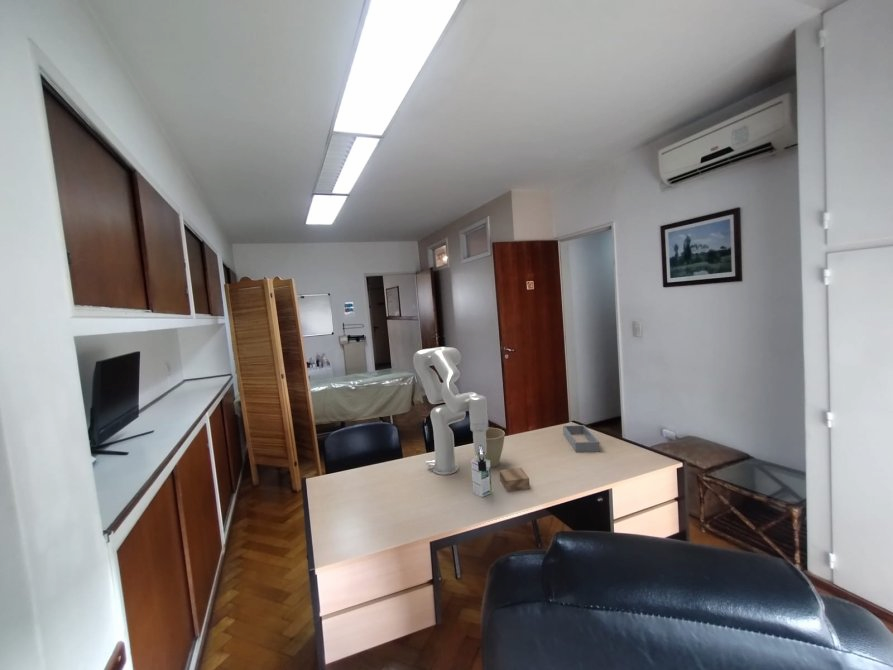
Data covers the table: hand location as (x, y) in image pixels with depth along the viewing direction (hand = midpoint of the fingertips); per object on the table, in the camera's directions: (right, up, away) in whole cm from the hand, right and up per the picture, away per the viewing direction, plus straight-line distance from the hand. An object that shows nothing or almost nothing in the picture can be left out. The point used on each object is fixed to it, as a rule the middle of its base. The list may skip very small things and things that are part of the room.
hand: (482, 465), depth 158 cm
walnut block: (+15, -11, +7) cm, 20 cm away
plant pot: (+7, -9, +28) cm, 31 cm away
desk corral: (+58, -4, +49) cm, 76 cm away
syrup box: (0, -12, +2) cm, 12 cm away
